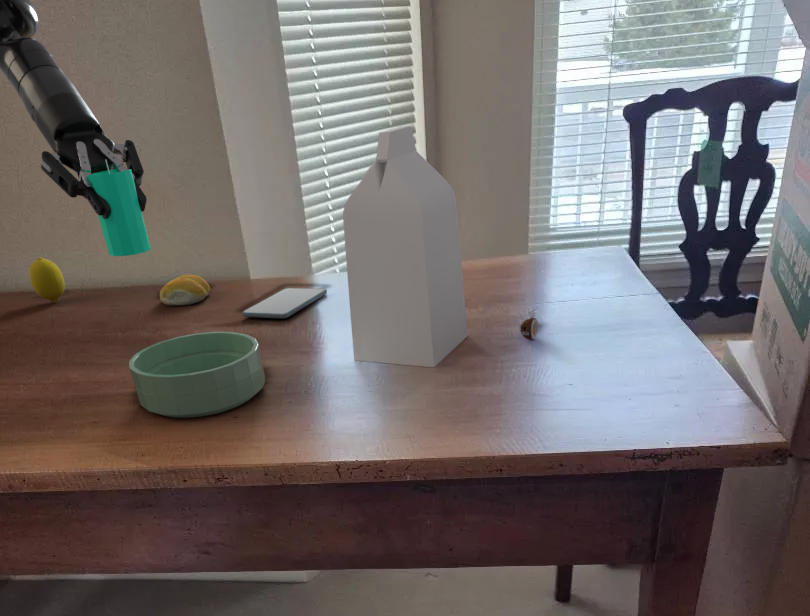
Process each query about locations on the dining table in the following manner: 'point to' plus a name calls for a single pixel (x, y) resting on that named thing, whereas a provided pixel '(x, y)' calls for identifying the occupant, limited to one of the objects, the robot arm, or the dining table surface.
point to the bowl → (198, 374)
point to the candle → (121, 213)
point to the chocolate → (530, 327)
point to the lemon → (47, 279)
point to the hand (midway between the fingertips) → (125, 210)
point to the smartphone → (284, 303)
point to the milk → (403, 259)
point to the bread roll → (184, 291)
